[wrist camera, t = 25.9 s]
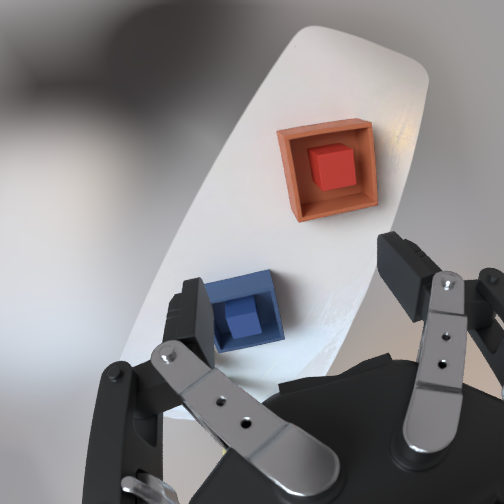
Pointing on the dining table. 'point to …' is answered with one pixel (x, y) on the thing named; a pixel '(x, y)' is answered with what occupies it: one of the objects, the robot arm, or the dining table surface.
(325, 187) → the red block
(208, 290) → the blue bin
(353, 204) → the terracotta bin
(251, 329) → the blue block
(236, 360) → the dining table surface
